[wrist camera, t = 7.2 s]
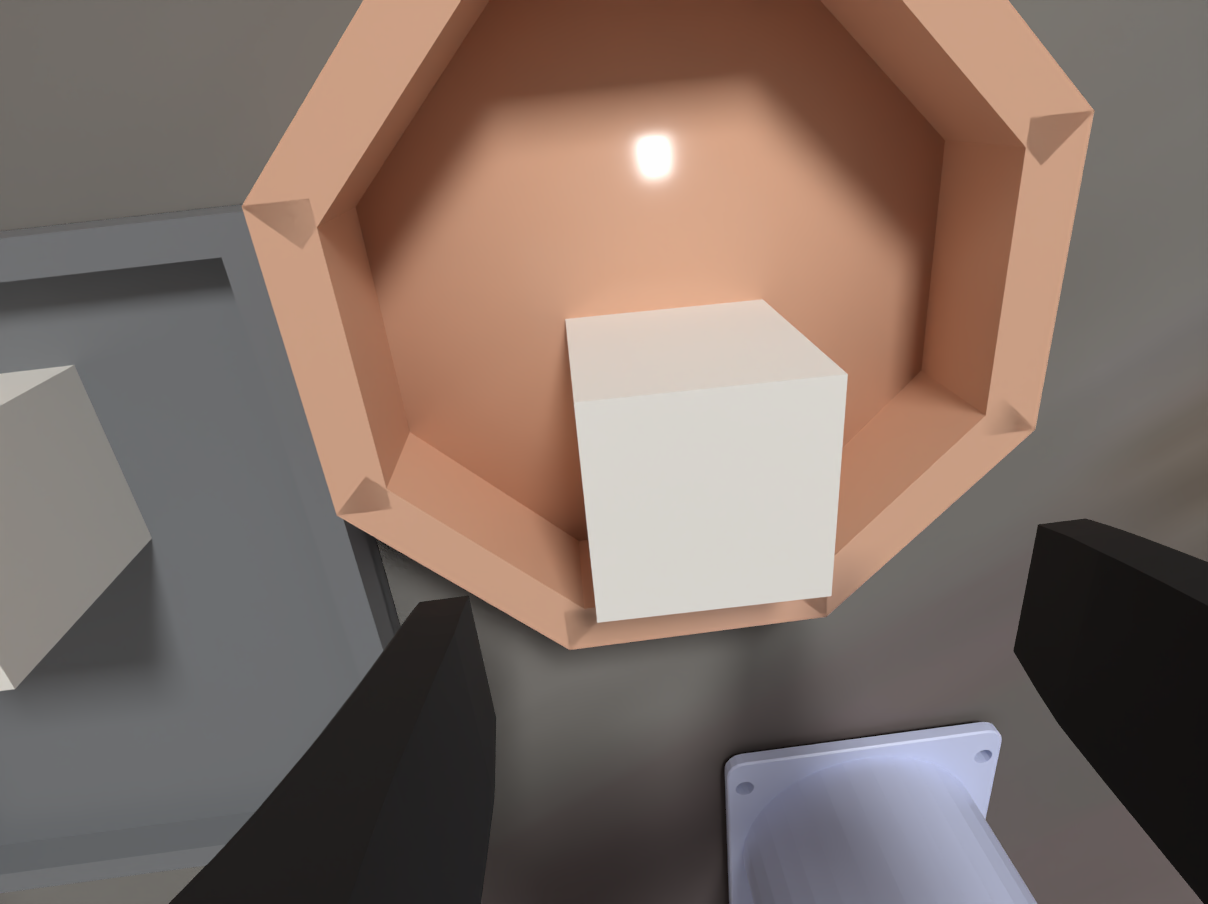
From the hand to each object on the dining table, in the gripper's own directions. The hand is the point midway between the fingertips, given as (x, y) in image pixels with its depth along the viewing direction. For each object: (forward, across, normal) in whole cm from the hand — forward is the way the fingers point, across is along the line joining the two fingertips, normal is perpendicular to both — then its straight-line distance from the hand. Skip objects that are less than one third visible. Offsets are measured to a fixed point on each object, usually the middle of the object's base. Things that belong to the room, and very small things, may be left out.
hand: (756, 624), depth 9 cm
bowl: (+7, 0, -3) cm, 8 cm away
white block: (+7, 0, 0) cm, 7 cm away
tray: (+7, +14, +3) cm, 16 cm away
